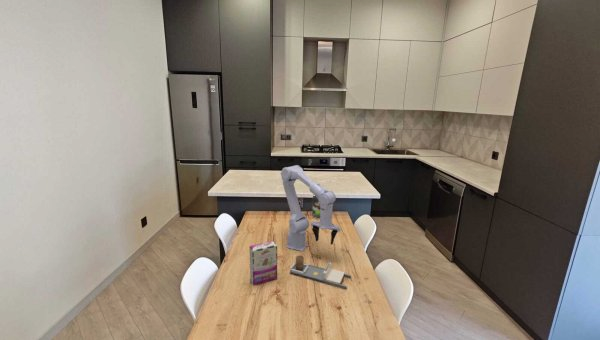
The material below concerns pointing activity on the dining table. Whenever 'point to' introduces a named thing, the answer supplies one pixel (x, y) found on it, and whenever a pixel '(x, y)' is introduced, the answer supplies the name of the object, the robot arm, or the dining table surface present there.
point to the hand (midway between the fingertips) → (324, 241)
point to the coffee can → (316, 208)
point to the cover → (332, 275)
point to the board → (314, 274)
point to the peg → (299, 263)
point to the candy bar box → (263, 262)
